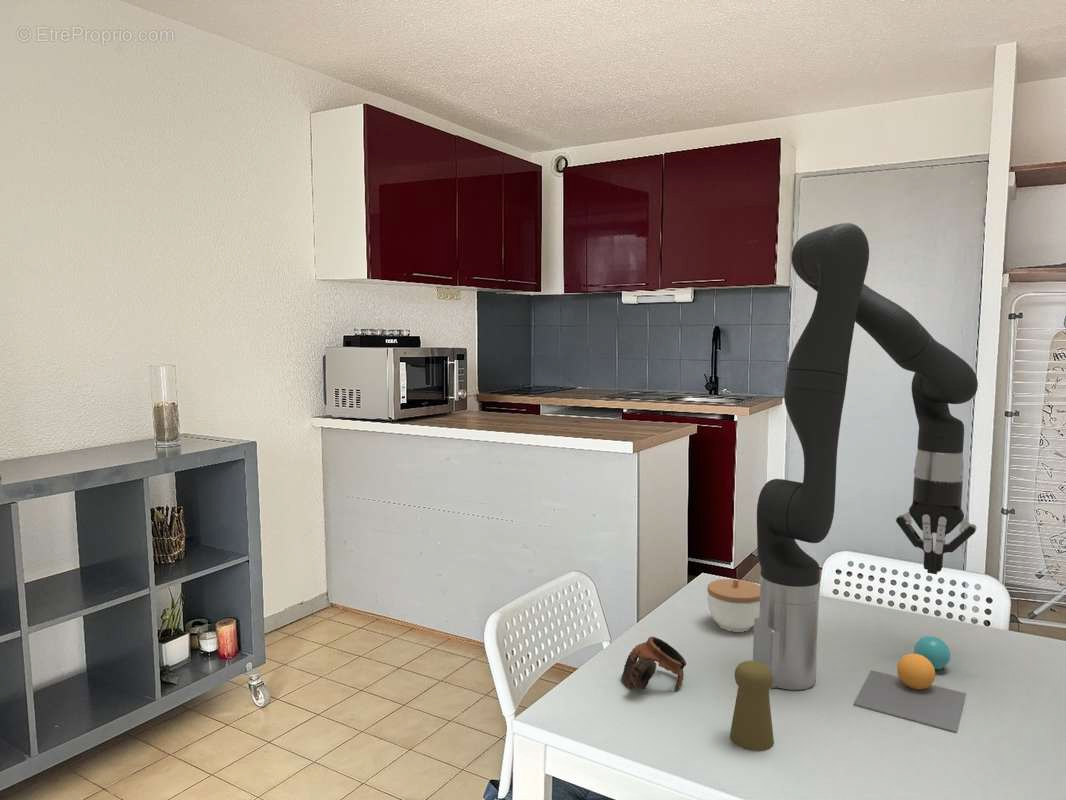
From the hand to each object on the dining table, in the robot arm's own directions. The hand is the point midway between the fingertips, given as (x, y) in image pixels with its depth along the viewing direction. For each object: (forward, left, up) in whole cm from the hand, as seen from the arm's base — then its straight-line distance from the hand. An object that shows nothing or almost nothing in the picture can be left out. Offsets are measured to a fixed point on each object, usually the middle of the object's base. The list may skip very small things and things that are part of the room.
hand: (932, 572), depth 131 cm
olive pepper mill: (-45, -19, -15) cm, 51 cm away
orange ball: (-11, -10, -12) cm, 19 cm away
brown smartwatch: (-53, 0, -16) cm, 55 cm away
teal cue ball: (-3, -5, -12) cm, 14 cm away
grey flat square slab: (-14, -13, -15) cm, 25 cm away
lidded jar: (-28, +19, -16) cm, 37 cm away
